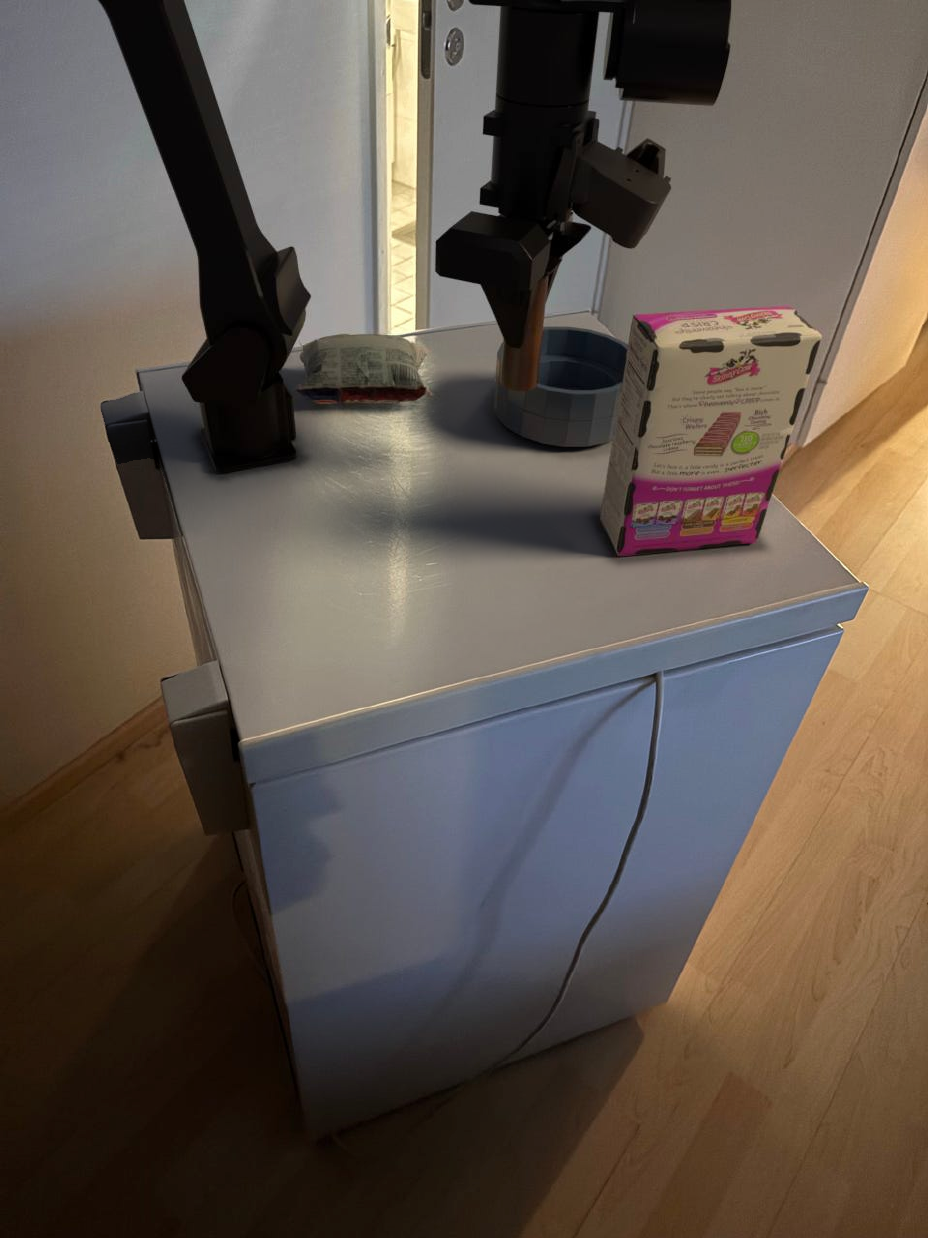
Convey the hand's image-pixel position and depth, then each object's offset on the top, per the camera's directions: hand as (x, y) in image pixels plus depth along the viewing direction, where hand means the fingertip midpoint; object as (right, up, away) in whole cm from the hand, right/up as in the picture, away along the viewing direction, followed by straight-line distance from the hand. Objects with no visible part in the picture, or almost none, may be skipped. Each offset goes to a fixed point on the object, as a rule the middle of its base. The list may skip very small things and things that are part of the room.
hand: (521, 338), depth 65 cm
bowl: (+4, -2, +14) cm, 15 cm away
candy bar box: (+12, -14, +2) cm, 18 cm away
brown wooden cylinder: (0, -3, +2) cm, 4 cm away
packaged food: (-13, 0, +16) cm, 21 cm away
